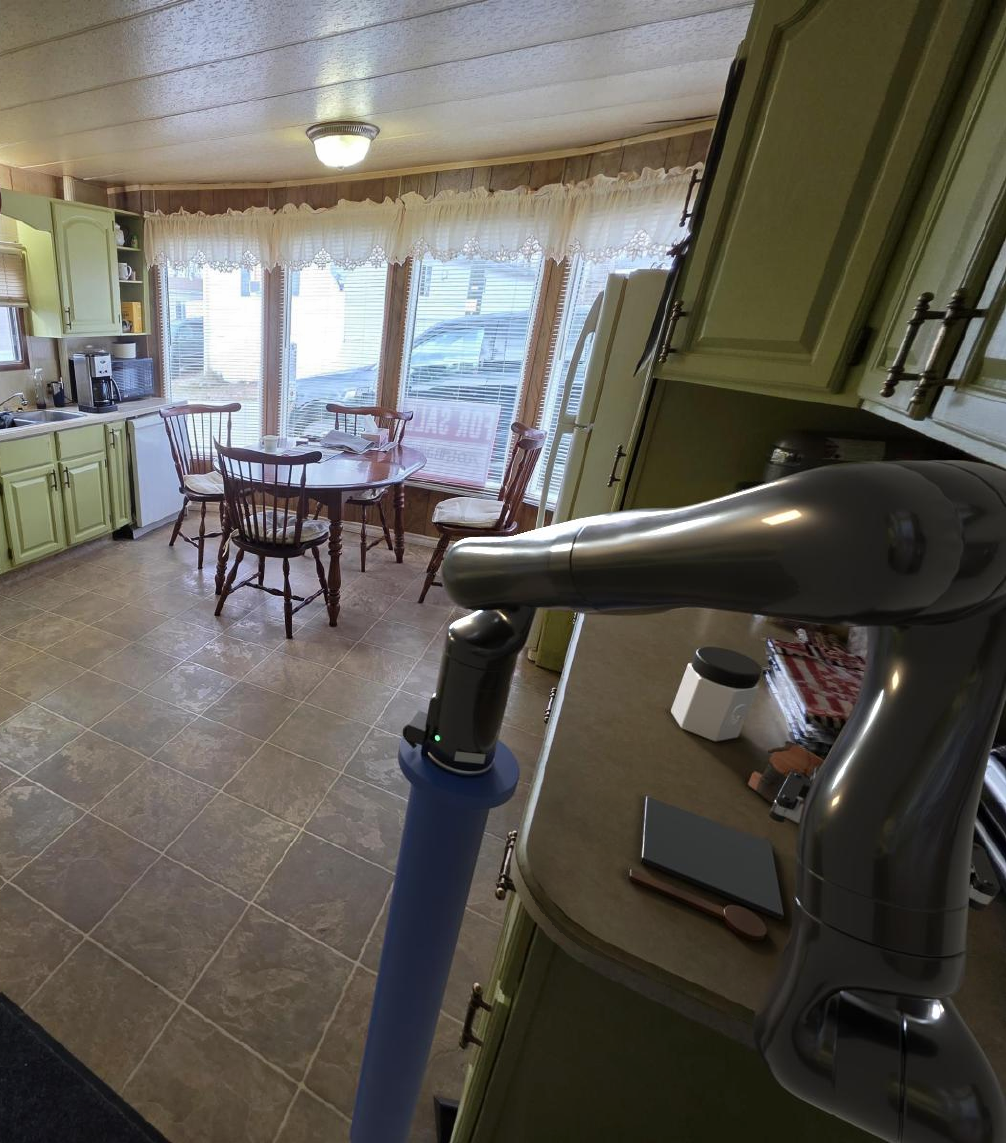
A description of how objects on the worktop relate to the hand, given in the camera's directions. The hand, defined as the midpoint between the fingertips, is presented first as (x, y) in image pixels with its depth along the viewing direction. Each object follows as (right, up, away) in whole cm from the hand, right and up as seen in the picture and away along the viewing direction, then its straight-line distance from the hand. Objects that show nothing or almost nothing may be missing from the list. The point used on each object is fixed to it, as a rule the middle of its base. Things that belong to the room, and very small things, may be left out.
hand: (875, 791), depth 58 cm
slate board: (-6, -13, +14) cm, 20 cm away
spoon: (-12, -15, +8) cm, 21 cm away
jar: (+12, -3, +38) cm, 40 cm away
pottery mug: (+13, -10, +23) cm, 28 cm away
